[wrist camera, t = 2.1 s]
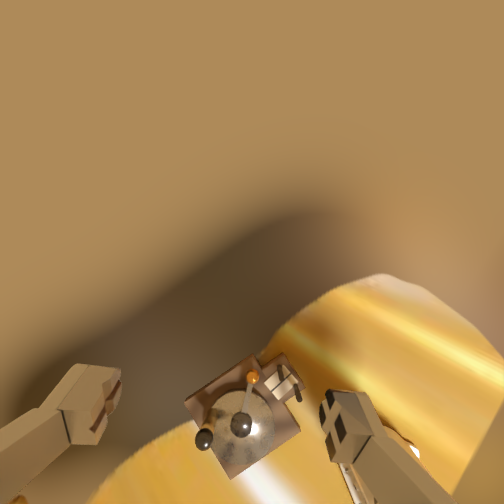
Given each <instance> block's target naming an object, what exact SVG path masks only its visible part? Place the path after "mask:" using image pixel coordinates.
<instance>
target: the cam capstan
mask: <svg viewBox="0 0 504 504" xmlns="http://www.w3.org/2000/svg"><path fill="white" fill-rule="evenodd" d="M245 377H246V380H247V382H248V385H247V389H233V390H230V391H227V392H225V393H223V394H222V395H221V396H220V397H218V398H217V399H216V401H215V402H214V403H213V405H212V407H211V408H210V409H208V410H207V412H206V415H205V417H204V420H203V423H202V425H201V428H200V430H199V431H198V433H197V434H196V437H195V444H196V447H197V448H198V449H199V450H201V451H206V450H208V449H209V448H210V447H211V448H212V449H213V451H214V452H215V453H216V454H217V455H218V456H219V457H220V458H221V459H223V460H224V461H226V462H228V463H231V464H235V465H247V464H251V463H254V462H256V461H258V460H259V459H261V458H262V457H263V456H264V455H265V454H266V453H267V452H268V451H269V449H270V447H271V445H272V443H273V440H274V436H275V421H274V415H273V412H272V410H271V408H270V406H269V404H268V403H267V401H266V400H265V399H264V398H263V397H262V396H261V395H259V394H258V393H256V392H254V391H252V388H253V384H255V383H257V382H258V380H259V373H258V371H257V370H256V369H249V370H248V371H247V372H246V375H245Z"/></svg>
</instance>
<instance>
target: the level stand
mask: <svg viewBox="0 0 504 504" xmlns="http://www.w3.org/2000/svg"><path fill="white" fill-rule="evenodd" d="M249 369H256V370H257V371H258V373H259V380H258V382H257V383H255V384H253V388H252V391H254V392H256V393H258V394H259V395H261V396H262V397H263V398H264V399H265V400H266V401H267V403H268V404H269V406H270V408H271V410H272V412H273V415H274V421H275V436H274V440H273V443H272V445H271V447H270V449H269V451H268V452H267V453H266V454H265V455H264V456H266V455H267V454H269V453H270V452H272V451H273V450H274V449H276V448H277V447H279V446H280V445H282V444H283V443H285V442H286V441H288V440H289V439H290V438H292V437H293V436H295V435H296V434H298V433H299V432H301V430H300V426H299V424H298V423H297V421H296V420H295V418H294V417H293V415H292V413H291V412H290V410H289V409H288V407H287V406H286V404H285V403H284V402H285V401H287V400H288V399H290V398H291V397H293V396H294V395H296V399H297V401H298V402H301V401H302V396H301V393H300V391H301V390H303V389H304V388H305V386H304V383H303V382H302V380H301V379H300V377H299V376H298V374H297V373H296V371H295V370H294V368H293V367H292V365H291V364H290V362H289V361H288V359H287V358H286V356H285V354H284V353H282V354H280V355H279V356H277V357H276V358H274V359H273V360H271V361H270V362H268V363H267V364H265V365H264V366H263V367H261V365H260V364H259V362H258V361H257V359H256V358H255V356H254V355H253V354H251V355H250V356H248V357H247V358H245V359H244V360H242V361H241V362H239V363H238V364H236V365H235V366H233V367H232V368H230V369H229V370H227V371H226V372H224V373H223V374H222V375H220V376H219V377H217V378H216V379H214V380H213V381H211V382H210V383H208V384H207V385H205V386H204V387H202V388H201V389H199V390H198V391H196V392H195V393H194V394H192V395H191V396H189V397H188V398H186V400H185V402H184V404H185V406H186V407H187V409H188V411H189V412H190V414H191V415H192V417H193V419H194V421H195V422H196V424H197V426H198V427H199V429H200V428H201V425H202V423H203V420H204V417H205V415H206V412H207V410H208V409H210V408H211V407H212V405H213V403H214V402H215V401H216V399H217V398H218V397H220V396H221V395H222V394H223V393H225V392H227V391H230V390H233V389H247V385H248V382H247V380H246V377H245V375H246V372H247V371H248V370H249ZM211 449H212V448H211ZM212 450H213V449H212ZM213 452H214V451H213ZM214 454H215V455H216V457H217V459H218V460H219V462H220V464H221V465H222V467H223V469H224V470H225V472H226V474H227V475H228V477H229V479H230V480H231V479H232V478H234V477H235V476H237V475H238V474H240V473H241V472H243V471H244V470H245V469H247V468H248V467H250V466H251V465H253V464H254V463H256V462H257V461H256V462H254V463H251V464H247V465H235V464H231V463H228V462H226V461H224V460H223V459H221V458H220V457H219V456H218V455H217V454H216V453H215V452H214ZM264 456H263V457H264ZM263 457H262V458H263ZM259 460H260V459H259ZM259 460H258V461H259Z"/></svg>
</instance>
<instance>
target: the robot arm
mask: <svg viewBox="0 0 504 504" xmlns="http://www.w3.org/2000/svg"><path fill="white" fill-rule="evenodd" d="M120 375H121V371H120V368H111V367H103V366H95V365H86V364H75V365H74V366H73V367H71V368H70V370H69V371H68V372H67V373H66V375H65V376H64V377H63V378H62V380H61V381H60V383H58V385H57V386H56V387H55V388H54V390H53V391H52V392H51V393H50V395H49V396H48V397H47V398H46V400H45V401H44V402H43V403H42V405H41V406H40V407H39V408H33V409H32V410H30V411H28V412H27V413H25V414H24V415H22V416H20V417H19V418H17V419H16V420H14V421H12V422H11V423H9V424H8V425H6V426H4V427H3V428H1V429H0V504H6V503H7V502H9V501H10V500H11V499H12V498H13V497H14V496H15V495H16V494H17V493H18V492H20V491H21V490H22V489H23V488H24V487H25V486H26V485H27V484H28V483H29V482H31V481H32V480H33V479H34V478H35V477H36V476H37V475H38V474H39V473H41V472H42V471H43V470H44V469H45V468H46V467H47V466H48V465H49V464H50V463H52V461H53V460H55V459H56V458H57V457H58V456H59V455H60V454H61V453H63V451H65V450H66V449H67V448H68V447H69V446H70V444H83V445H84V444H85V445H97V443H98V442H99V440H100V437H101V435H102V434H103V432H104V430H105V428H106V426H107V416H108V415H109V414H110V413H112V412H113V411H114V410H115V408H116V406H117V404H118V402H119V398H120V395H121V391H122V382H120V380H119V377H120ZM325 396H326V399H325V400H323V401H322V402H321V405H320V409H319V417H320V423H321V427H322V429H323V430H324V432H325V433H326V434H327V437H326V440H325V443H326V446H327V450H328V454H329V457H330V461H331V462H334V463H339V466H340V469H341V471H342V474H343V476H344V479H345V481H346V484H347V486H348V488H349V491H350V493H351V496H352V498H353V501H354V503H355V504H458V503H457V502H456V501H455V500H454V499H453V498H452V497H451V496H450V495H449V494H448V493H447V492H446V491H445V490H444V489H443V488H442V487H441V486H440V485H439V484H438V483H437V482H436V481H435V480H434V479H433V478H432V476H431V474H430V473H429V471H428V470H427V469H426V467H425V466H424V465H423V463H422V462H421V460H420V459H419V451H418V449H417V448H416V446H414V445H413V444H411V443H409V442H407V441H405V440H403V439H402V438H401V437H400V436H399V434H397V433H396V432H395V431H394V430H392V429H390V428H388V427H386V426H383V425H382V423H381V421H380V419H379V417H378V415H377V413H376V410H375V408H374V406H373V404H372V402H371V400H370V398H369V396H368V395H367V394H366V393H365V392H356V391H350V390H338V389H328V390H327V391H326V393H325ZM345 468H347V469H345Z"/></svg>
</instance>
